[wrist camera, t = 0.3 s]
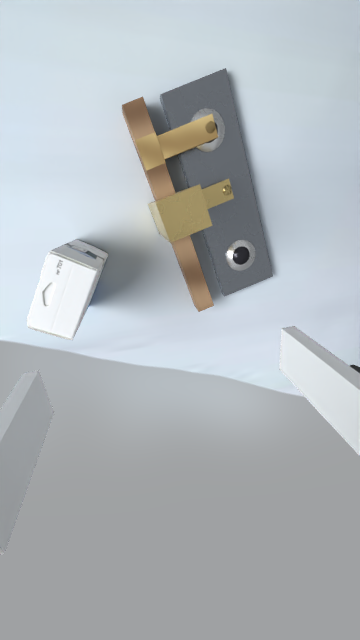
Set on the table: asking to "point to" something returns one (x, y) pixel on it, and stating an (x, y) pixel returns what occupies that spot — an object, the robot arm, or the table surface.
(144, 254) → the table surface
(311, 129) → the table surface
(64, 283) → the ink box
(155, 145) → the beam
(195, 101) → the gray rectangular panel
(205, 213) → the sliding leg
